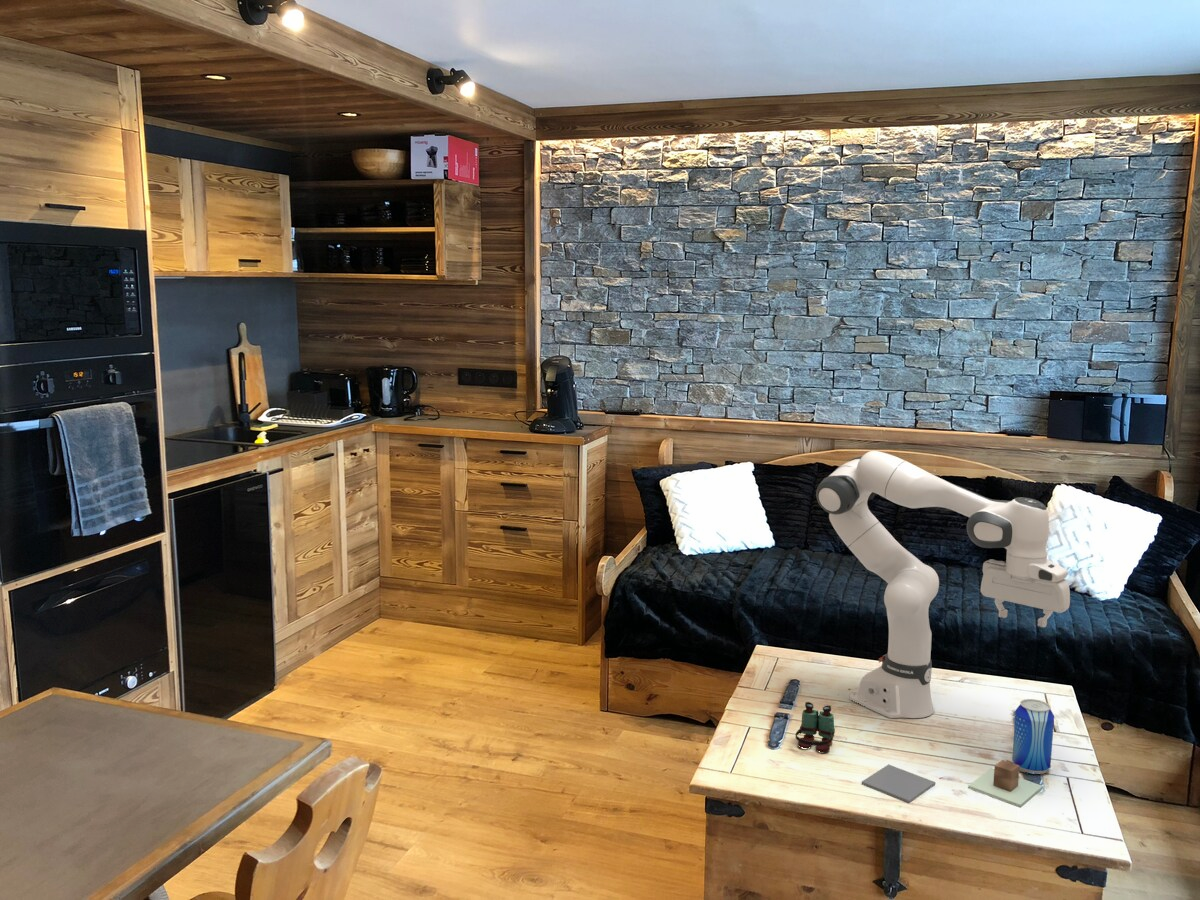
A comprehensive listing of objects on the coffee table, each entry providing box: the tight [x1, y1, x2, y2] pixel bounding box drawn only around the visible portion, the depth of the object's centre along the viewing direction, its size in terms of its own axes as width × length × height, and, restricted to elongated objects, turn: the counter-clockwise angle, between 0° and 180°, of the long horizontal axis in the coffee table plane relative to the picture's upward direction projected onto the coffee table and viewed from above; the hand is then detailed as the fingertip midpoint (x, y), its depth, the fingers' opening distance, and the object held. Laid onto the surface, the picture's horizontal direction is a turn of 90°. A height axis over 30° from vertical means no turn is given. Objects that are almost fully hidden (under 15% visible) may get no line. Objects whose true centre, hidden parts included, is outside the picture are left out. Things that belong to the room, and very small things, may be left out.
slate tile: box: [861, 764, 936, 804], centre depth 224 cm, size 12×12×1 cm
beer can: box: [1011, 698, 1055, 775], centre depth 231 cm, size 8×8×16 cm
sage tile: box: [967, 767, 1044, 808], centre depth 223 cm, size 12×12×1 cm
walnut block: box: [993, 759, 1020, 792], centre depth 222 cm, size 4×4×5 cm
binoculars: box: [795, 701, 836, 753], centre depth 242 cm, size 9×10×10 cm
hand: (1022, 621), depth 234 cm, fingers open, 8 cm apart
